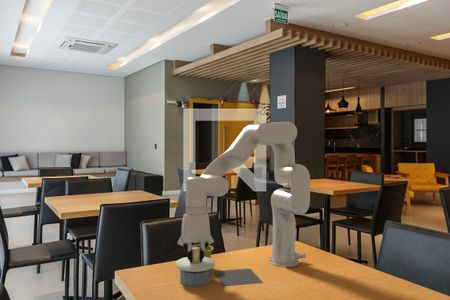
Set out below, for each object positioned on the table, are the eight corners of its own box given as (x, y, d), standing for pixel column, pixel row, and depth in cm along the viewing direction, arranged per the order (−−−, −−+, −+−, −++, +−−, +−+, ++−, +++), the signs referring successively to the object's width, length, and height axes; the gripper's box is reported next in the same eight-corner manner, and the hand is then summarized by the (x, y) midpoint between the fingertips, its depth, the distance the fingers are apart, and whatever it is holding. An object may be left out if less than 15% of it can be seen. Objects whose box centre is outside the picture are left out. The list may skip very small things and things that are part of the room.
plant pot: (214, 265, 148) (214, 244, 148) (211, 273, 138) (211, 251, 138) (192, 264, 149) (192, 243, 148) (187, 272, 139) (187, 250, 139)
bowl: (207, 275, 137) (207, 262, 137) (213, 286, 126) (213, 272, 126) (178, 277, 134) (178, 264, 134) (182, 288, 124) (182, 274, 124)
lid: (210, 257, 139) (210, 242, 139) (218, 270, 125) (218, 253, 125) (174, 260, 135) (174, 244, 135) (178, 273, 122) (178, 255, 122)
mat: (250, 269, 143) (250, 268, 143) (263, 284, 129) (263, 282, 129) (213, 272, 140) (213, 271, 140) (222, 287, 125) (222, 286, 125)
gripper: (215, 208, 135) (215, 256, 136) (172, 209, 132) (172, 259, 132) (220, 211, 128) (219, 262, 129) (174, 213, 124) (174, 266, 125)
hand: (195, 260), depth 130 cm, fingers closed on lid, 3 cm apart
